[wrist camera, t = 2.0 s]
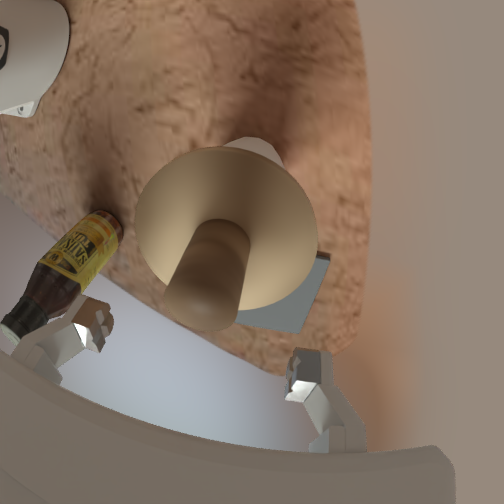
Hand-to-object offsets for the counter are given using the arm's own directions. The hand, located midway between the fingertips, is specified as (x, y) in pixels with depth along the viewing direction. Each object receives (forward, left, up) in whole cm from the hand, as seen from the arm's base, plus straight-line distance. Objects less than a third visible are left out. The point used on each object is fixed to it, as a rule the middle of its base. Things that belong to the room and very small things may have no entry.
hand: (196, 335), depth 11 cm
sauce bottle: (-18, -11, -21) cm, 30 cm away
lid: (0, 0, -8) cm, 8 cm away
